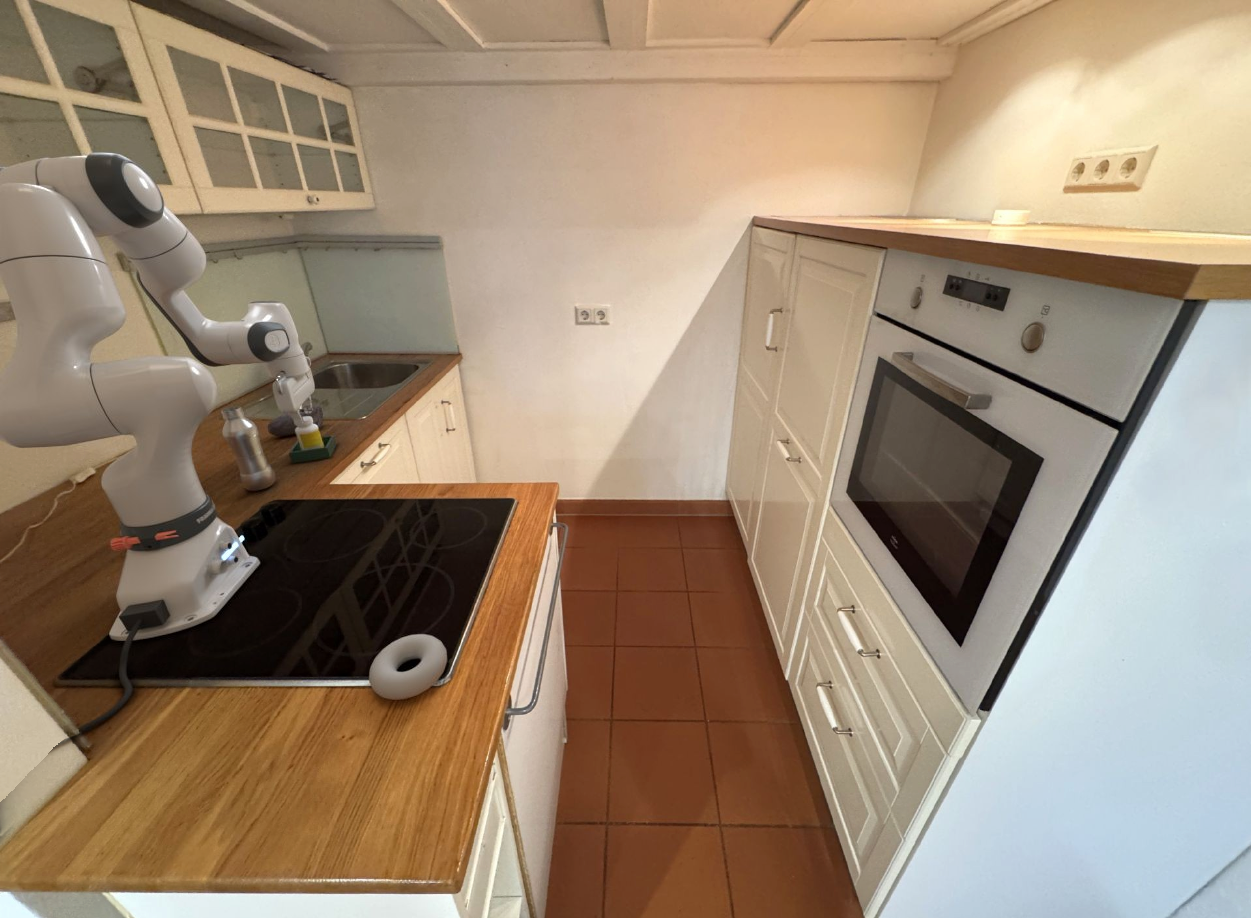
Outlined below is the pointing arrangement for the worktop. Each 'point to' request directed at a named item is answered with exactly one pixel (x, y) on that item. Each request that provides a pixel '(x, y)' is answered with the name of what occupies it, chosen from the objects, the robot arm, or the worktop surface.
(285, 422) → the perforated stone tool
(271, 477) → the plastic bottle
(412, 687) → the donut
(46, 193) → the robot arm
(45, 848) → the worktop surface
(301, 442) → the supplement bottle
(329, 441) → the tray
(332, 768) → the worktop surface
